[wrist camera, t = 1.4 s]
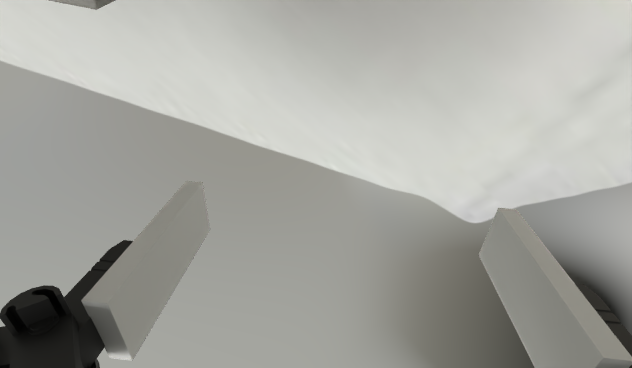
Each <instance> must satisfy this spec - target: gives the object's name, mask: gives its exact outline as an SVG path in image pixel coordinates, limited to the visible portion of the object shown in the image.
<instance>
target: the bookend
mask: <svg viewBox="0 0 632 368" xmlns="http://www.w3.org/2000/svg"><path fill="white" fill-rule="evenodd" d="M50 1H55V2H60V3H65V4H71V5H76V6H81V7H86V8H91V9H96V10H97V9H99V8H101V7H103V6H105V5H107V4H109V3H111V2H113V1H115V0H50Z"/></svg>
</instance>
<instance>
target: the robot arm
mask: <svg viewBox="0 0 632 368" xmlns="http://www.w3.org/2000/svg"><path fill="white" fill-rule="evenodd" d="M209 231H210V225H209V219H208V213H207V206H206V200H205V194H204V188H203V183H202V182H192V181H186V182H185V183H184V184H183V185H182V186H181V188H180V189H179V190H178V191H177V192H176V193H175V194H174V196H173V197H172V198H171V199H170V200H169V201H168V202H167V204H166V205H165V206H164V207H163V208H162V209H161V210H160V211H159V213H158V214H157V215H156V216H155V217H154V218H153V219H152V221H151V222H150V223H149V224H148V225H147V226H146V227H145V229H144V230H143V231H142V232H141V233H140V234H139V235H138V237H137V238H136V239H135V240H134V241H126V240H123V241H122V242H120V243H119V244H117V245H116V246H114V247H112V248H111V249H110V250H108V251H107V253H106V254H105V255H104V256H103V257H102V258H101V259H100V261H99V262H97V263H96V264H95V265H94V266H93V267H92V269H91V271H89V272H88V273H87V274H86V275H85V276H84V277H83V278H82V279H81V280H80V281H79V282H78V283H77V284H76V285H75V286H74V288H73V289H72V290H71V291H70V292H69V293H68V294H67V295H66V296H65V297H63V295H62V293H61V291H60V289H59V288H57V287H54V286H40V287H36V288H32V289H30V290H27V291H25V292H23V293H21V294H19V295H18V296H16V297H15V298H13V299H12V300H10V301H9V303H7V304H6V305H5V306H4V307H3V308H2V310H1V313H0V319H1V320H2V322H3V323H4V324H5V327H0V368H100V367H99V362H98V360H97V357H98V356H99V354H100V353H101V351H102V350H103V349H104V347H105V349H106V351H107V353H108V355H109V357H110V358H116V359H124V360H133V359H134V358H135V356H136V354H137V352H138V351H139V349H140V347H141V346H142V344H143V342H144V341H145V339H146V337H147V336H148V334H149V332H150V331H151V329H152V327H153V325H154V324H155V322H156V320H157V319H158V317H159V315H160V314H161V312H162V310H163V309H164V307H165V305H166V304H167V302H168V300H169V299H170V297H171V295H172V293H173V292H174V290H175V288H176V287H177V285H178V283H179V282H180V280H181V278H182V277H183V275H184V273H185V272H186V270H187V268H188V267H189V265H190V263H191V261H192V260H193V258H194V256H195V254H196V253H197V251H198V250H199V248H200V246H201V245H202V243H203V241H204V240H205V238H206V236H207V234H208V233H209ZM479 257H480V259H481V261H482V263H483V265H484V267H485V269H486V271H487V273H488V275H489V277H490V279H491V281H492V283H493V285H494V287H495V289H496V291H497V293H498V295H499V297H500V299H501V301H502V303H503V305H504V307H505V309H506V311H507V313H508V315H509V317H510V319H511V321H512V323H513V325H514V327H515V329H516V331H517V333H518V335H519V337H520V339H521V341H522V343H523V345H524V347H525V349H526V351H527V353H528V355H529V357H530V359H531V361H532V363H533V365H534V367H535V368H632V335H631V334H630V333H629V332H628V331H627V329H626V328H625V327H624V326H623V325H621V324H620V321H619V320H618V319H617V317H616V316H615V315H614V314H612V313H611V310H610V309H609V308H608V307H607V305H606V304H605V303H604V302H603V301H602V299H601V298H600V297H599V296H598V295H596V294H595V293H594V292H593V291H591V290H590V289H589V288H587V287H586V286H585V285H584V284H575V283H574V282H573V281H572V280H571V279H570V277H569V276H568V275H567V273H566V272H565V271H564V270H563V268H562V267H561V266H560V264H558V262H557V261H556V260H555V258H554V257H553V256H552V254H551V253H550V252H549V250H548V249H547V248H546V247H545V246H544V244H543V243H542V241H541V240H540V239H539V238H538V236H537V235H536V234H535V233H534V231H533V230H532V229H531V228H530V226H529V225H528V224H527V222H526V221H525V220H524V218H523V217H522V216H521V215H520V214H519V212H518V211H517V210H516V209H505V208H498V210H497V212H496V215H495V217H494V219H493V222H492V224H491V227H490V229H489V231H488V234H487V236H486V239H485V241H484V244H483V246H482V249H481V251H480V253H479Z"/></svg>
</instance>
